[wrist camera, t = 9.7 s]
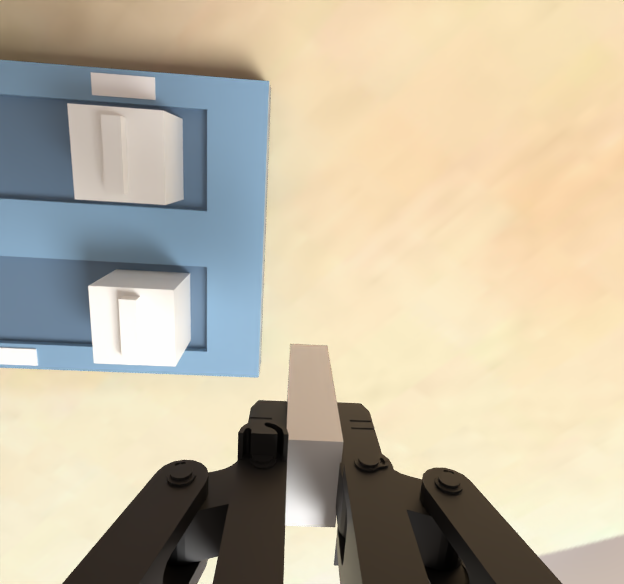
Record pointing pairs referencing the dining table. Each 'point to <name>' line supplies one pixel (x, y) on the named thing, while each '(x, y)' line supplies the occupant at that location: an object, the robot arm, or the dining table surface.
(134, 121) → the tab near
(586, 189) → the dining table surface
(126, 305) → the tab far
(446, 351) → the dining table surface
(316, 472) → the robot arm
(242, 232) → the switch bank
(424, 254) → the dining table surface
